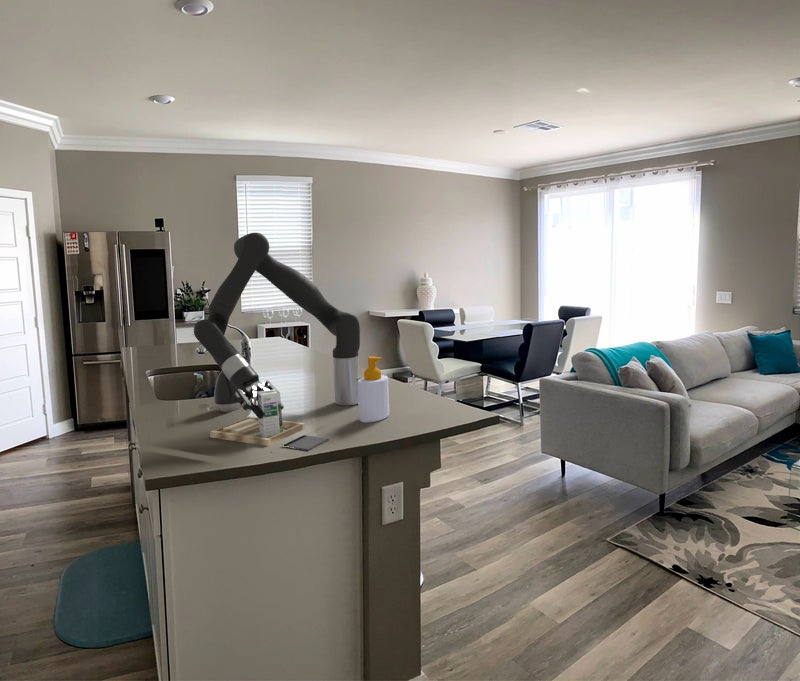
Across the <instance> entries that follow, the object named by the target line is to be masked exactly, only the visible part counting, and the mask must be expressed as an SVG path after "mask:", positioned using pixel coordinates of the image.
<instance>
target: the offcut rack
mask: <svg viewBox="0 0 800 681" xmlns="http://www.w3.org/2000/svg"><path fill="white" fill-rule="evenodd" d="M247 419H254V420H259V418H258V417H257V416H246V417H244V418H241V419H239V420H236V421H234V422H231V423H227V424H226V425H224V426H221V427H218V428H215V429H212V430H210V431H209V438H212V439H220V440H225V441H226V440H227V441H233V442H240V443H247V444H254V445H258V446H267V447H269V446H272V445H275V444H276V443H278V442H280V441H282V440H285V439H286V438H289V437H290V436H293V435H295V434H297V433H299V432H301V431H303V430H305V429H306V423H305V422H300V421H290V420H283V419H282V425H283V428H284V429H285V430H283V432H281V433H278V434H276V435H274V436H272V437H270V438H263V437H262V436H254V435H257V434H260V428H259V426H256V427H254V428H252V429H249V430H247V431H244V432H242V433H240V434H235V433H228V432H223V428H225V427H228V426H231V425H233V424H236V423H239V422H242V421H244V420H247Z"/></svg>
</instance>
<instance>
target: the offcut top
mask: <svg viewBox="0 0 800 681" xmlns="http://www.w3.org/2000/svg"><path fill="white" fill-rule="evenodd" d="M256 426H259V420H254V419H247V420H244V421H242V422H239V423H236V424H233V425H231V426H228V427H225V428H223V432H228V433H235V434H240V433H242V432H244V431H247V430H249V429H252V428H254V427H256Z"/></svg>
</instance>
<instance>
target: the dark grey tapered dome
mask: <svg viewBox="0 0 800 681" xmlns="http://www.w3.org/2000/svg"><path fill="white" fill-rule="evenodd" d="M236 392H237V389H236V388H235V387H234V386H233V384H232V383H231V382H230V381H229V379H228V378H227V377H226V375H225V374H224V372H223V371H222V370H221V371H220V372H219V374H218V376H217V378H216V382H215V387H214V391H213V394H214V395H213V401H214V402H213V403H214V404H215V406H216V408H217V409H218V411H220V412H222V411H223V412H222V413H233V412H235V411H238V410H240V409H241V408H242V406H241V405H240V403H239V402H238V401H237V399H236V398H235V396H234V394H235V393H236ZM232 411H233V412H232Z"/></svg>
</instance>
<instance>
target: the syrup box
mask: <svg viewBox="0 0 800 681" xmlns="http://www.w3.org/2000/svg"><path fill="white" fill-rule="evenodd" d="M276 389H277V388H276ZM276 389H273V390H267V391H260V392H257V395H258V399H257V401H256V403H257V404H256V405H258V406H259V407H260V408H261V409H262V411H263V412H264V413H265V416H264V417H263V418H262V419H259V428H260V432H259V435H260V437H263V438H270V437H272V436H274V435H276V434H278V433H281V432H283V431H284V427H283V425H282V420H283V412H282V410H281V403H282V398H281V391H279V390H278V389H277V390H276Z"/></svg>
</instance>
